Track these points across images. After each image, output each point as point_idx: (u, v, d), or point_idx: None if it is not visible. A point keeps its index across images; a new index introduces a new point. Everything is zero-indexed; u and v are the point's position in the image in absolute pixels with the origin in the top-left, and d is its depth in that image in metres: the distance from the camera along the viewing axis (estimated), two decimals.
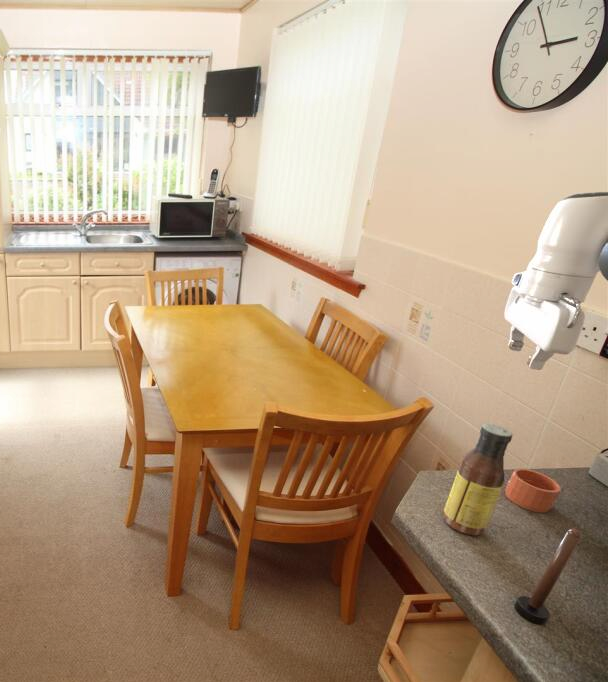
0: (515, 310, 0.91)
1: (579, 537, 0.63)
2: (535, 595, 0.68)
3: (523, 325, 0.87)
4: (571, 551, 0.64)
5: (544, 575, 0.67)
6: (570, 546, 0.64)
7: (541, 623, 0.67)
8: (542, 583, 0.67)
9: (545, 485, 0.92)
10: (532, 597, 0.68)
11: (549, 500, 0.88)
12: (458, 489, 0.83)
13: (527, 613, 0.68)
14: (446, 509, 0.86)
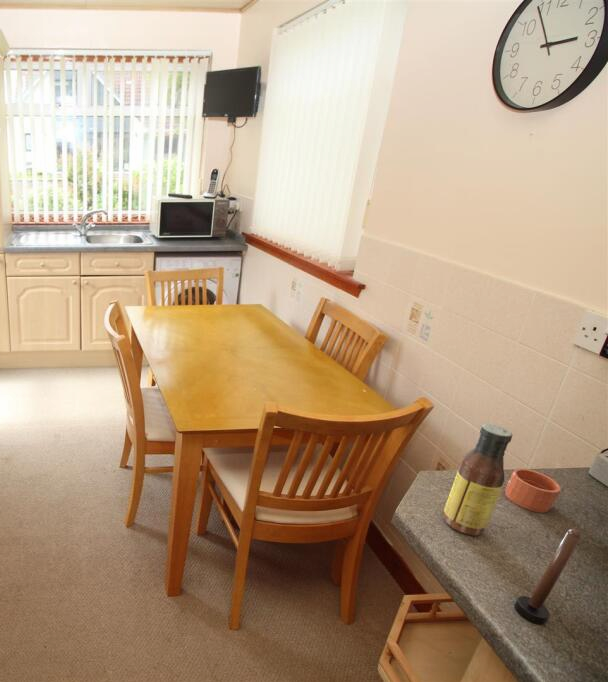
0: None
1: (579, 537, 0.63)
2: (535, 595, 0.68)
3: None
4: (571, 551, 0.64)
5: (544, 575, 0.67)
6: (570, 546, 0.64)
7: (541, 623, 0.67)
8: (542, 583, 0.67)
9: (545, 485, 0.92)
10: (532, 597, 0.68)
11: (549, 500, 0.88)
12: (458, 489, 0.83)
13: (527, 613, 0.68)
14: (446, 509, 0.86)
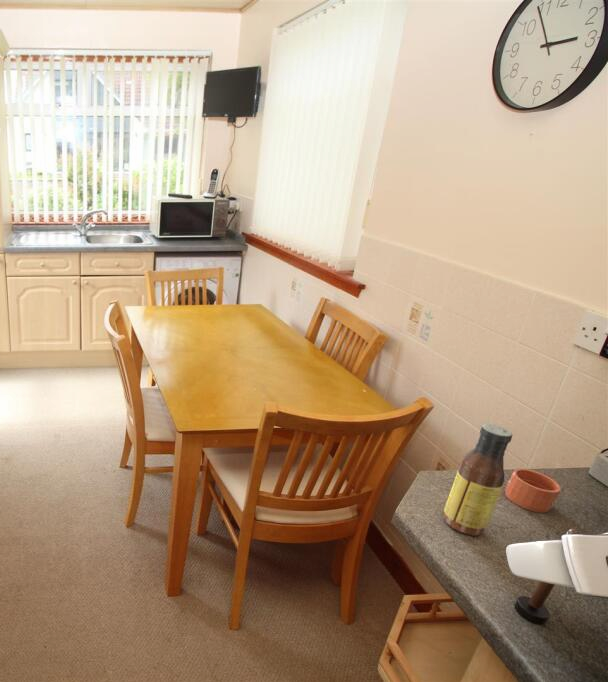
0: None
1: None
2: (535, 595, 0.68)
3: None
4: None
5: None
6: None
7: (541, 623, 0.67)
8: (543, 583, 0.67)
9: (545, 485, 0.92)
10: (532, 597, 0.68)
11: (549, 500, 0.88)
12: (458, 489, 0.83)
13: (527, 613, 0.68)
14: (446, 509, 0.86)
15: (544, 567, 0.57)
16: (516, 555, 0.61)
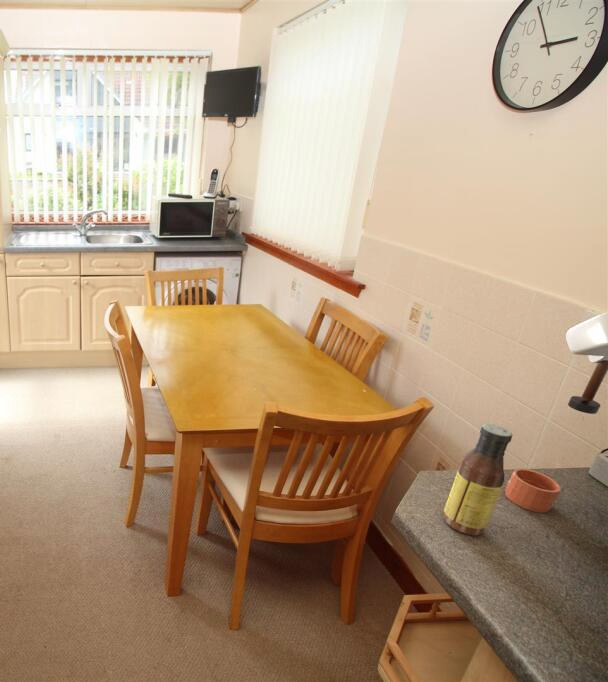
0: None
1: None
2: (587, 389, 0.78)
3: None
4: None
5: (596, 368, 0.77)
6: None
7: (593, 412, 0.78)
8: (594, 375, 0.77)
9: (545, 485, 0.92)
10: (584, 392, 0.79)
11: (549, 500, 0.88)
12: (458, 489, 0.83)
13: (580, 405, 0.78)
14: (446, 509, 0.86)
15: (602, 333, 0.68)
16: (576, 334, 0.71)
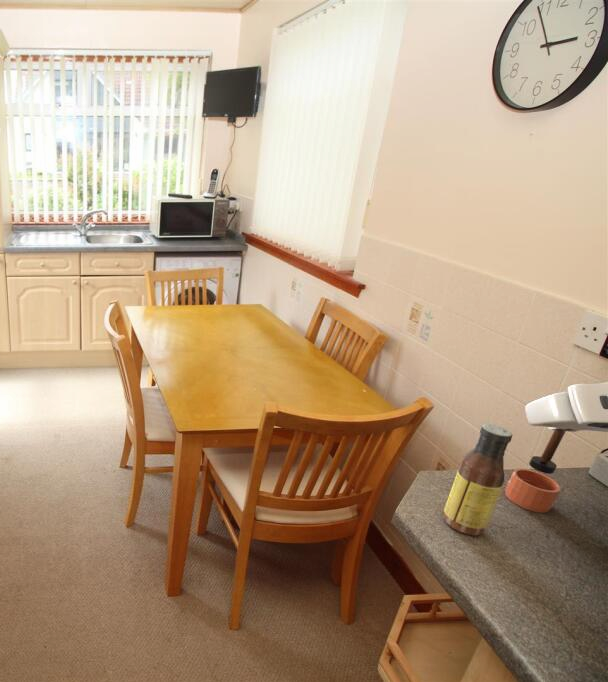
0: (565, 424, 0.80)
1: None
2: (545, 451, 0.89)
3: (591, 429, 0.81)
4: None
5: (553, 434, 0.87)
6: None
7: (550, 472, 0.88)
8: (551, 440, 0.88)
9: (545, 485, 0.92)
10: (543, 454, 0.89)
11: (549, 500, 0.88)
12: (458, 489, 0.83)
13: (539, 465, 0.89)
14: (446, 509, 0.86)
15: (554, 411, 0.78)
16: (533, 409, 0.81)
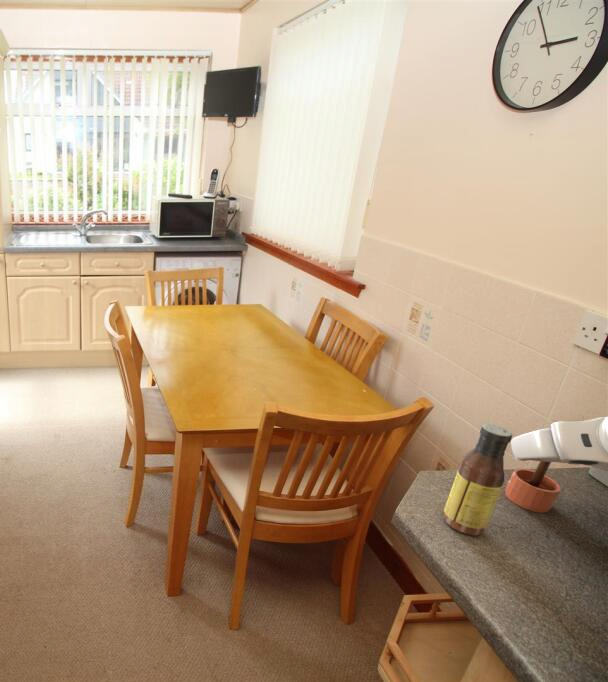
0: (549, 458, 0.82)
1: None
2: (532, 481, 0.91)
3: (575, 462, 0.83)
4: None
5: (538, 465, 0.90)
6: None
7: None
8: (537, 471, 0.90)
9: (545, 485, 0.92)
10: None
11: (549, 500, 0.88)
12: (458, 489, 0.83)
13: None
14: (446, 509, 0.86)
15: (538, 447, 0.80)
16: (518, 443, 0.84)
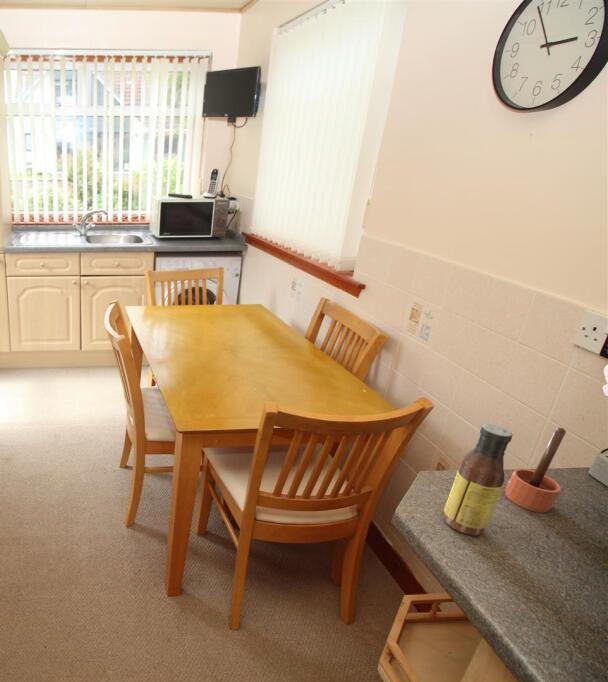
0: None
1: (564, 433, 0.86)
2: (532, 481, 0.91)
3: None
4: (558, 444, 0.87)
5: (538, 465, 0.90)
6: (557, 440, 0.87)
7: None
8: (537, 471, 0.90)
9: (545, 485, 0.92)
10: None
11: (549, 500, 0.88)
12: (458, 489, 0.83)
13: None
14: (446, 509, 0.86)
15: None
16: None
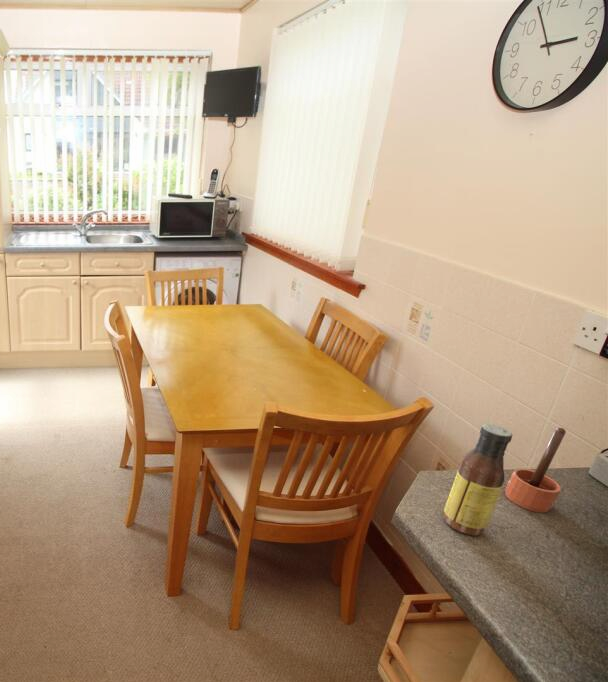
0: None
1: (564, 433, 0.86)
2: (532, 481, 0.91)
3: None
4: (558, 444, 0.87)
5: (538, 465, 0.90)
6: (557, 440, 0.87)
7: None
8: (537, 471, 0.90)
9: (545, 485, 0.92)
10: None
11: (549, 500, 0.88)
12: (458, 489, 0.83)
13: None
14: (446, 509, 0.86)
15: None
16: None
